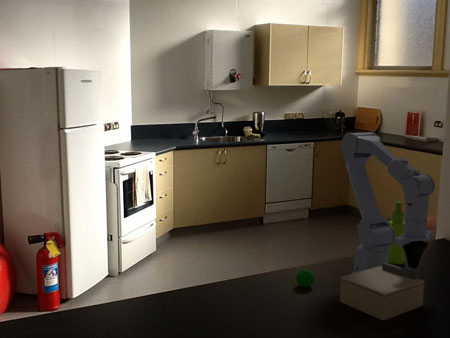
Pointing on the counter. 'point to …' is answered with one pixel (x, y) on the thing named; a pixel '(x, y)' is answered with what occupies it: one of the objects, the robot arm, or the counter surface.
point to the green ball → (305, 278)
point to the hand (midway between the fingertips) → (412, 267)
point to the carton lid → (384, 279)
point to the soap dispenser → (397, 235)
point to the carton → (381, 300)
